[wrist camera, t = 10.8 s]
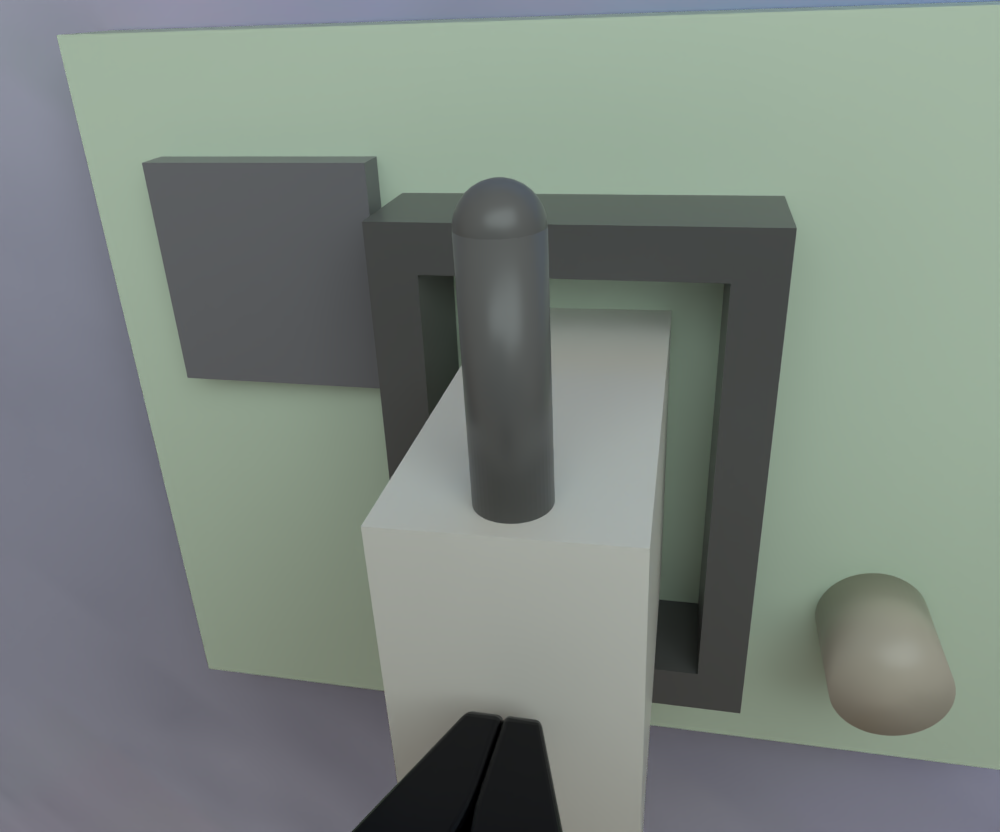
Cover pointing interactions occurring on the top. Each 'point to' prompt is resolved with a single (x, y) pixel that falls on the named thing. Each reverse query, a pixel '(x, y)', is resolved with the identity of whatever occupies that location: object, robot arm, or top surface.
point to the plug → (530, 523)
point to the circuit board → (591, 285)
